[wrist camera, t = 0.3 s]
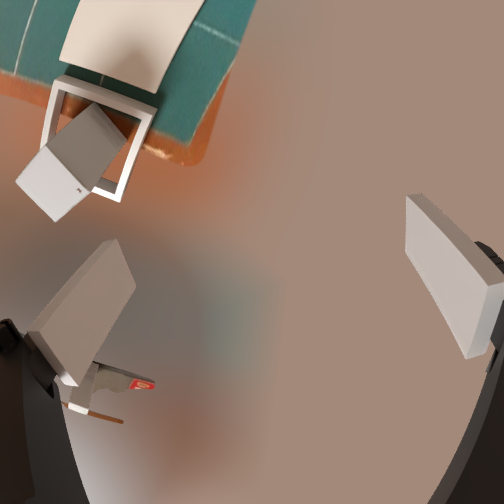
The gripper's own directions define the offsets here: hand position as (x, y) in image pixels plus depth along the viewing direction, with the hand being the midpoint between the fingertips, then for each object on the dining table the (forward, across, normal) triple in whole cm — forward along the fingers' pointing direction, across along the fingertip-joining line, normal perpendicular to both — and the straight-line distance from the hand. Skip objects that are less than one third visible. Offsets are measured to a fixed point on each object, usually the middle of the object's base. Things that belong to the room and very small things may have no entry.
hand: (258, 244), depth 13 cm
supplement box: (+26, -23, +7) cm, 35 cm away
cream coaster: (+22, -13, +19) cm, 32 cm away
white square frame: (+26, -23, +7) cm, 35 cm away
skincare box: (+41, -67, -54) cm, 95 cm away
